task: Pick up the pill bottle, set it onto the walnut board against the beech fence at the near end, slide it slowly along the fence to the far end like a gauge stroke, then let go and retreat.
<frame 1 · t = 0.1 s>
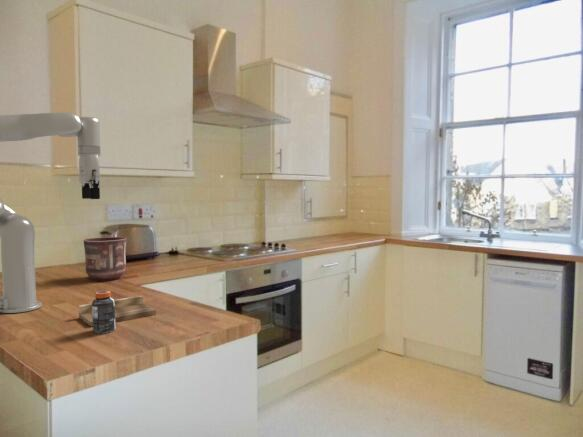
hand: (90, 198, 165), 37 cm above the worktop, tool pointing down, fingers open, 9 cm apart
pill bottle: (104, 331, 129), on the worktop
pottery: (106, 278, 203), on the worktop
board: (118, 316, 143), on the worktop
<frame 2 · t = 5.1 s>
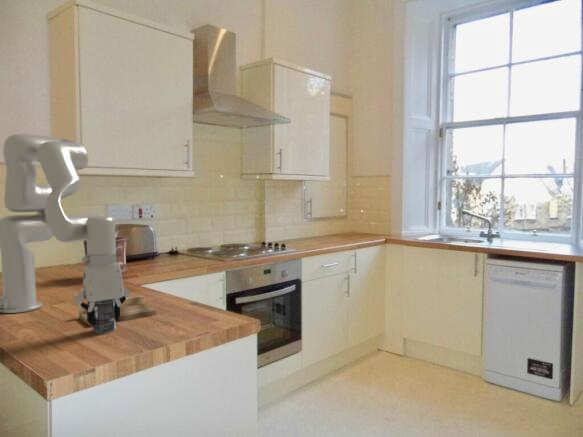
hand: (104, 321, 128), 3 cm above the worktop, tool pointing down, fingers closed on pill bottle, 6 cm apart
pill bottle: (104, 331, 129), on the worktop, touching gripper
everything else where it was.
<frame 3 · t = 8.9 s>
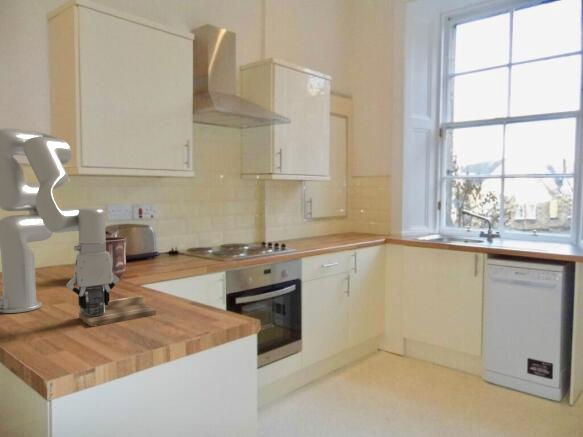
hand: (94, 305, 139), 4 cm above the worktop, tool pointing down, fingers closed on pill bottle, 5 cm apart
pill bottle: (94, 314, 139), point 2 cm above the worktop, touching gripper
everything else where it was.
when the fingers open (4 cm above the worktop, at t = 13.1 s): pill bottle stays where it is, resting on board.
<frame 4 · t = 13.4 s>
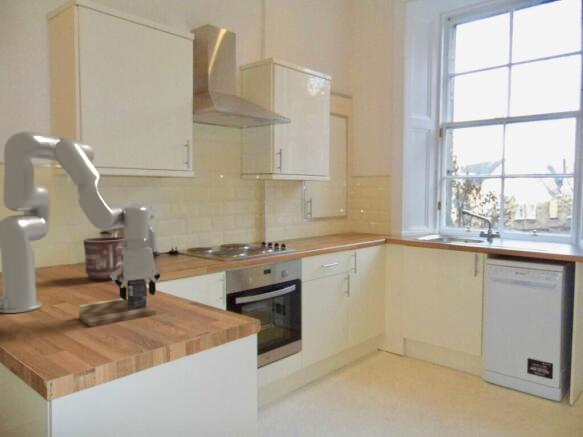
hand: (138, 296, 148), 5 cm above the worktop, tool pointing down, fingers open, 9 cm apart
pill bottle: (137, 307, 148), point 1 cm above the worktop, touching board
everything else where it was.
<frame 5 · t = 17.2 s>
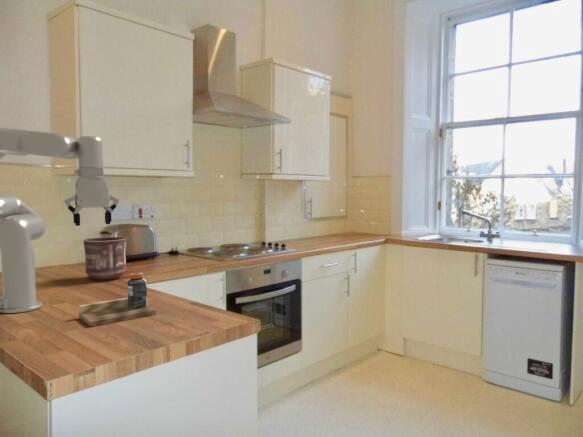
hand: (93, 224, 152), 28 cm above the worktop, tool pointing down, fingers open, 9 cm apart
nothing on the worktop moved.
at the end: pill bottle 0.2 cm from the target spot on the board, point 1.3 cm above the board's base; pill bottle tilted 0°; the gripper is holding nothing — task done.
